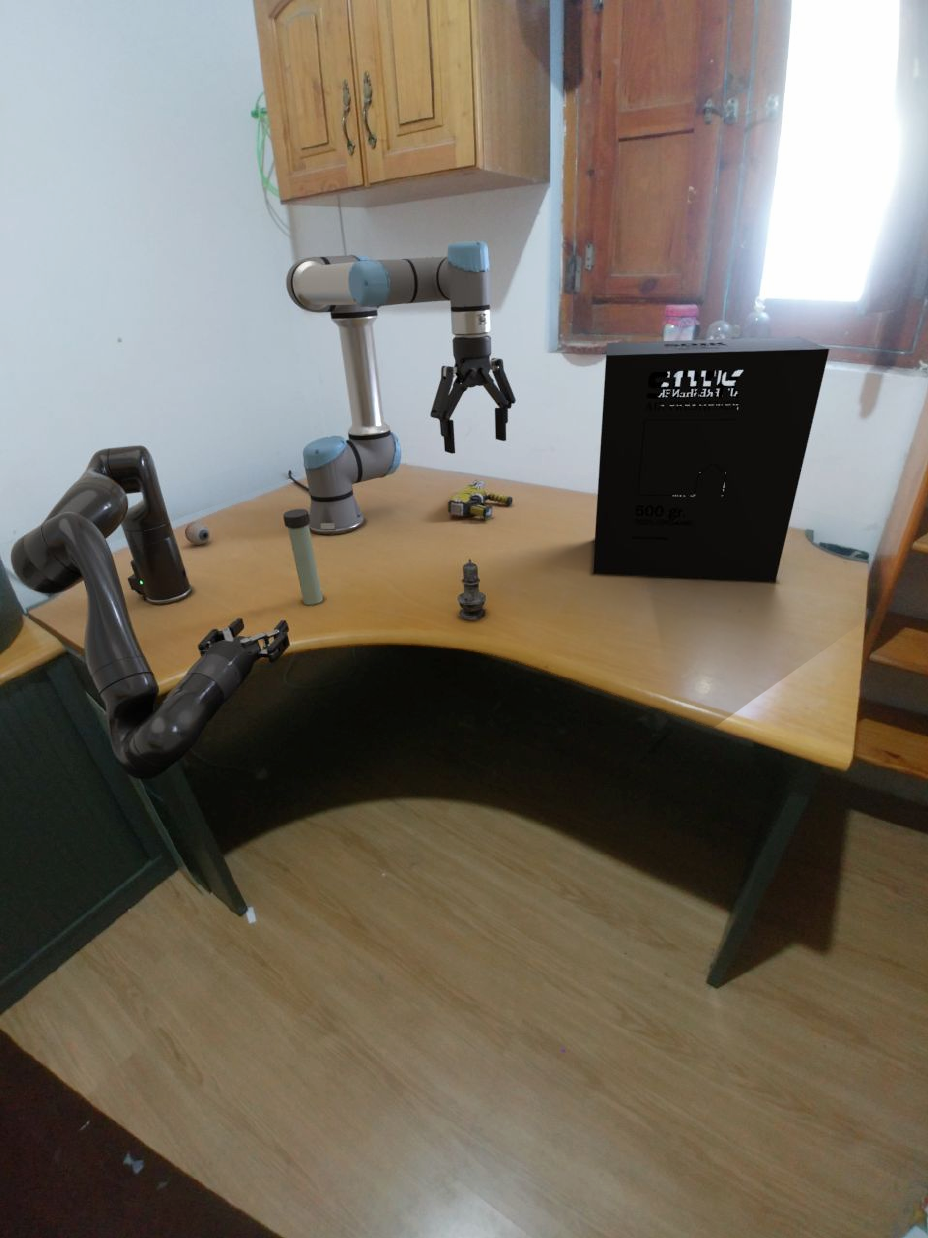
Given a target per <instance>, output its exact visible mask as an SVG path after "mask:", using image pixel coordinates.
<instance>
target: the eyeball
mask: <svg viewBox="0 0 928 1238" xmlns="http://www.w3.org/2000/svg"><path fill="white" fill-rule="evenodd" d="M210 534H211V532H210V529H209V527H208V526H207V525H206V524H205V523H203V522H200V521H194V522H191V523H189V524H188V525H187V526H186V527H185V530H184V535H185V539H186V540H187V541H188V542H190V544H193V545H195V546H197V545H198V546H200V545H203V544H206V543H207V542H208V541H209V539H210V536H211V535H210Z"/></svg>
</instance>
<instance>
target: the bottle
mask: <svg viewBox="0 0 928 1238" xmlns="http://www.w3.org/2000/svg"><path fill="white" fill-rule="evenodd" d="M287 530H288V536H289V539H290V545H291V550H292V554H293V560H294V564H295V569H296V573H297V578H298V583H299V587H300V592H301V596H302V597H301V598H302V602H303V604H304V605H306V606H307V605H308V606H313V605H318V604H320V603H321V602H322V601H323V599H324V598H323V592H322V588H321V582H320V577H319V572H318V567H317V562H316V557H315V551H314V546H313V541H312V535H311V530H310V529H309V524H308V525H307V526H304V527H301V528H288V527H287Z"/></svg>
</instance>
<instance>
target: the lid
mask: <svg viewBox="0 0 928 1238" xmlns="http://www.w3.org/2000/svg"><path fill="white" fill-rule="evenodd" d="M282 517H283V522H284V525H285V527H286V528H287V529H288V528H301V527H304V526H307V525H308V524H309V523H310V518H309V511H308V510H307V509H304V508H295V509H290V510H287V511H285V512H284V513H282Z"/></svg>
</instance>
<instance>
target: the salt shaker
mask: <svg viewBox="0 0 928 1238" xmlns="http://www.w3.org/2000/svg"><path fill="white" fill-rule="evenodd" d="M478 567H479V566H478V564H476V563H474V562H473V561H472V559H471V558H469V559H468V561H467V562H466V563H465V564H463V566H462V577H463V578H462V579H461V583H462V585H463V592H461V593H460V594H458V596H457V597H456V601H457V602H458V604H459V607H460V608H461V609H460V611H459V617H460V618H461V619H464V620H466V621H467V620H468V621H476V620H480V619H482V618H484V617H485V616H486V614H487V613H486V610H485V609H484V606H485V604H486V601H487V595H486V593H484V592H482V591H480V587H479V586H480V583H481V578H480V577H479V568H478Z"/></svg>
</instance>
